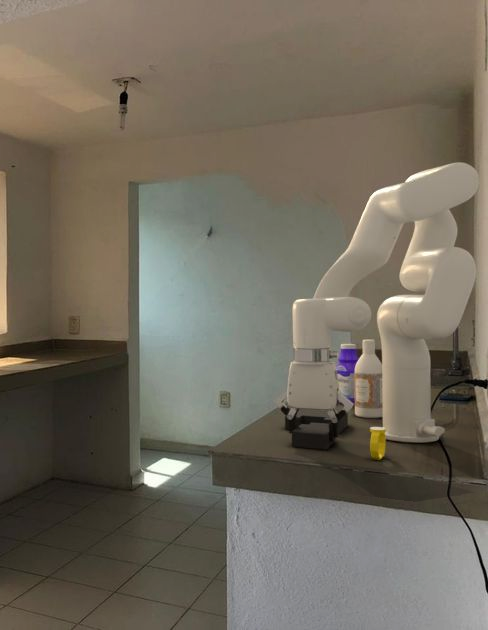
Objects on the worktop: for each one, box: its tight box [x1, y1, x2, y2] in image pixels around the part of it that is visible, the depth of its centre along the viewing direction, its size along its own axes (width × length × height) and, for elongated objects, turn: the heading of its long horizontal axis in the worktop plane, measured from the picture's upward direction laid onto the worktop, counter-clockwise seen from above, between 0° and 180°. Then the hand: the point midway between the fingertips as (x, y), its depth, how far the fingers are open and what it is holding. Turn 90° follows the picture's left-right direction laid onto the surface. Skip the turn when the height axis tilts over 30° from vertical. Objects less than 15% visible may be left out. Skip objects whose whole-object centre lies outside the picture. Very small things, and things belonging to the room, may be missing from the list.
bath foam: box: [354, 339, 383, 419], centre depth 170 cm, size 7×7×20 cm
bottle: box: [336, 343, 360, 405], centre depth 190 cm, size 7×6×17 cm
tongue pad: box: [291, 422, 336, 451], centre depth 141 cm, size 7×12×3 cm, turn 147°
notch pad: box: [284, 409, 349, 435], centre depth 157 cm, size 12×12×3 cm
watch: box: [369, 426, 387, 461], centre depth 127 cm, size 6×3×6 cm, turn 141°
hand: (313, 438), depth 140 cm, fingers closed on tongue pad, 7 cm apart
